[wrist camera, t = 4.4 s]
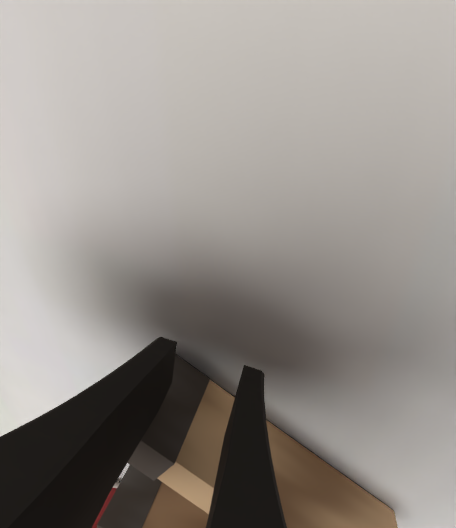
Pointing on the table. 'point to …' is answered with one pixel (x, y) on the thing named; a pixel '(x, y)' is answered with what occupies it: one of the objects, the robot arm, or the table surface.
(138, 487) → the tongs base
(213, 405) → the wooden bar grey ends
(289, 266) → the table surface
